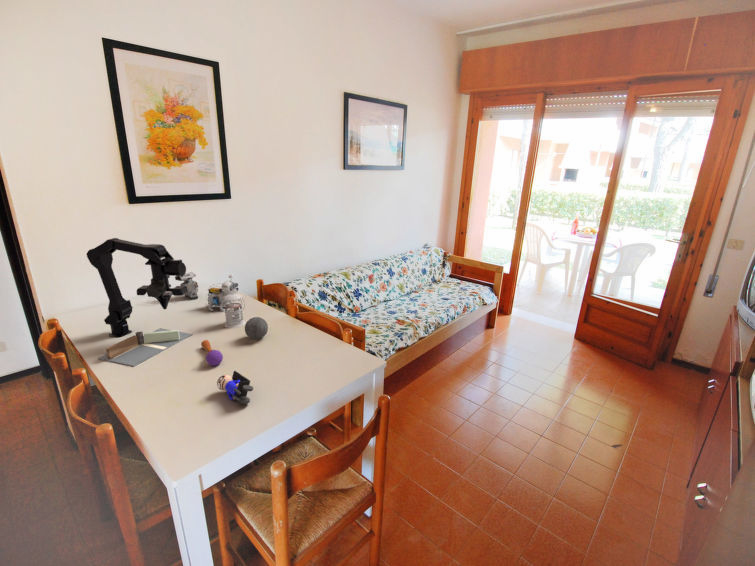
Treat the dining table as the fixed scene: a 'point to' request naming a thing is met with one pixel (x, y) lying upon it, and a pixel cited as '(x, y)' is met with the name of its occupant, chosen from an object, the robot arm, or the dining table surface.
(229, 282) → the robotic toy
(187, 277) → the figurine
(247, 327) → the decorative ball
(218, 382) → the character figurine
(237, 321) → the french press
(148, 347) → the card
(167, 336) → the swing panel
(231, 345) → the dining table surface
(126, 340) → the brown wooden bar
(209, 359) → the kendama
